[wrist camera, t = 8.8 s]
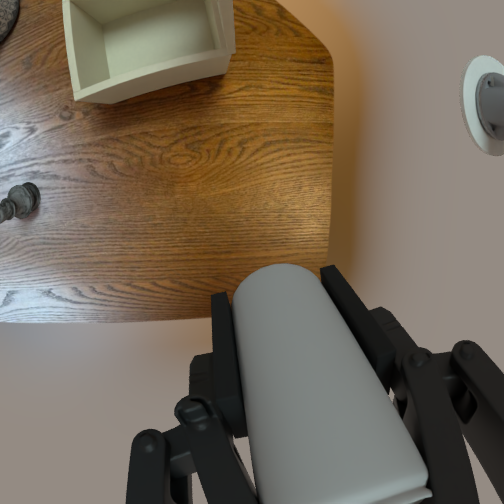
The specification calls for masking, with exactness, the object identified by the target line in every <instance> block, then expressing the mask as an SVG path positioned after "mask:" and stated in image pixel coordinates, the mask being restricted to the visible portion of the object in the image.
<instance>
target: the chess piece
mask: <svg viewBox="0 0 504 504" xmlns="http://www.w3.org/2000/svg"><path fill="white" fill-rule="evenodd" d="M39 203H40V192H39V190H38V188H37V187H36V185H34V184H33V183H31V182H26V183H24V184H23V185H16V186H14V187H12V188H11V189H10V191H9V193H8V196H7V198H5V199H3V200H2V201H1V203H0V223H2V222H4V221H5V220H11V219H12V218H13V217H14V216H15V217H16V218H19V219H23V218H26V217H27V216H28V215H29V214H30V212H31V211H33V210H35V209H36V208H37V207H38V206H39Z"/></svg>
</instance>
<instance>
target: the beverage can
mask: <svg viewBox="0 0 504 504" xmlns="http://www.w3.org/2000/svg"><path fill="white" fill-rule="evenodd" d="M231 308H232V316H233V324H234V332H235V340H236V347H237V355H238V362H239V370H240V377H241V385H242V392H243V400H244V408H245V415H246V423H247V430H248V438H249V445H250V453H251V460H252V467H253V473H254V480H255V487H256V493H257V498H258V501H259V504H419V503H420V502H421V501H422V500H423V499H424V498H428V497H432V496H433V493H432V491H431V490H430V489H427V488H426V485H427V482H428V478H429V472H428V469H427V466H426V465H425V463H424V461H423V459H422V457H421V455H420V453H419V451H418V449H417V447H416V445H415V444H414V442H413V440H412V438H411V436H410V434H409V432H408V430H407V429H406V427H405V425H404V423H403V421H402V419H401V418H400V416H399V414H398V412H397V410H396V409H395V407H394V405H393V403H392V401H391V400H390V398H389V396H388V394H387V392H386V391H385V389H384V387H383V385H382V384H381V382H380V380H379V378H378V377H377V375H376V373H375V371H374V370H373V368H372V366H371V365H370V363H369V361H368V359H367V358H366V356H365V354H364V353H363V351H362V349H361V348H360V346H359V344H358V342H357V341H356V339H355V337H354V336H353V334H352V332H351V331H350V329H349V327H348V326H347V324H346V322H345V321H344V319H343V318H342V316H341V314H340V313H339V311H338V309H337V308H336V306H335V304H334V303H333V301H332V300H331V298H330V296H329V295H328V293H327V292H326V290H325V288H324V287H323V285H322V284H321V282H320V280H319V279H318V278H317V277H316V276H315V275H314V274H313V273H312V272H311V271H309V270H307V269H305V268H303V267H301V266H298V265H293V264H288V263H286V264H273V265H270V266H267V267H263V268H261V269H259V270H257V271H255V272H254V273H252V274H250V275H249V276H248V277H247V278H246V279H245V280H244V281H243V282H241V283H240V285H239V287H238V288H237V290H236V291H235V293H234V296H233V300H232V304H231Z"/></svg>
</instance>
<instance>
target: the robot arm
mask: <svg viewBox="0 0 504 504" xmlns="http://www.w3.org/2000/svg"><path fill="white" fill-rule="evenodd" d="M475 102H476V110H477V114H478V118H479V121H480V123H481V125H482V127H483V129H484V131H485V132H486V133H487V134H488V135H489V136H490V137H491V138H493V139H497V140H501V141H504V75H502V74H499V73H495V72H488V73H485V74H483V75H482V76H481V77H480V79H479V81H478V83H477V87H476V93H475ZM320 274H321V283H322V285H323V287H324V288H325V290H326V292H327V293H328V295H329V296H330V298H331V300H332V301H333V303H334V304H335V306H336V308H337V309H338V311H339V313H340V314H341V316H342V318H343V319H344V321H345V322H346V324H347V326H348V327H349V329H350V331H351V332H352V334H353V336H354V337H355V339H356V341H357V342H358V344H359V346H360V348H361V349H362V351H363V353H364V354H365V356H366V358H367V359H368V361H369V363H370V365H371V366H372V368H373V370H374V371H375V373H376V375H377V377H378V378H379V380H380V382H381V384H382V385H383V387H384V389H385V391H386V392H387V394H388V395H389V391H390V387H391V389H392V391H393V392H394V394H395V395H394V399H393V405H394V407H395V409H396V410H397V412H398V414H399V416H400V418H401V419H402V421H403V423H404V425H405V427H406V429H407V430H408V432H409V434H410V436H411V438H412V440H413V442H414V444H415V445H416V447H417V449H418V451H419V453H420V455H421V457H422V459H423V461H424V463H425V465H426V466H427V469H428V472H429V478H428V482H427V485H426V488H427V489H430V490H431V491H432V493H433V496H432V497H428V498H424V499H423V500H422V501H421V502H420V503H419V504H480V503H479V498H478V493H477V488H476V484H475V479H474V475H473V471H472V467H471V463H470V459H469V456H468V452H467V449H466V445H465V442H464V438H463V435H464V437H465V439H466V440H467V442H468V443H469V445H470V447H471V448H472V450H473V452H474V453H475V455H476V457H477V458H478V460H479V462H480V464H481V465H482V467H483V469H484V470H485V472H486V474H487V476H488V477H489V479H490V481H491V483H492V484H493V486H494V488H495V490H496V492H497V494H498V496H499V498H500V499H501V501H502V503H503V504H504V374H503V373H502V371H501V370H500V369H499V368H498V367H497V366H496V364H495V363H494V362H493V361H492V360H491V359H490V358H489V356H488V355H487V354H486V353H485V352H484V351H483V350H482V349H481V347H480V346H479V345H477V344H476V343H475V342H472V341H469V340H463V341H459V342H458V343H456V344H455V345H454V347H453V349H452V351H451V352H444V353H437V354H432V353H431V352H430V351H429V350H427V349H425V348H421V347H418V346H417V345H416V343H415V342H414V341H413V340H412V338H411V337H410V336H409V334H408V333H407V332H406V331H405V329H404V328H403V327H402V326H401V324H400V323H399V322H398V321H397V320H396V318H395V317H394V316H393V314H392V313H391V312H390V311H388V310H386V309H385V308H383V307H378V308H375V309H372V310H368V309H367V308H366V306H365V305H364V304H363V302H362V301H361V300H360V298H359V297H358V296H357V294H356V293H355V292H354V290H353V289H352V288H351V286H350V285H349V284H348V282H347V281H346V280H345V278H344V277H343V276H342V274H341V273H340V272H339V270H338V269H337V268H336V267H335V265H330V266H326V267H323V268H320ZM211 312H212V343H213V352H212V353H206V354H202V355H197V356H194V358H193V360H192V362H191V364H190V376H189V382H190V384H189V395H188V396H186V397H184V398H182V399H181V400H180V401H179V402H178V403H177V405H176V407H175V410H174V412H175V413H174V415H175V416H176V418H177V419H178V421H179V422H180V425H179V426H177V427H175V428H173V429H171V430H168V431H166V432H163V433H161V432H160V431H158V430H155V429H147V430H143V431H141V432H140V433H138V434H137V435H136V436H135V438H134V439H133V442H132V447H131V456H130V463H129V472H128V482H127V493H126V504H193V501H192V500H193V499H192V475H191V474H192V473H195V472H197V473H198V476H199V479H200V482H201V485H202V488H203V491H204V493H205V496H206V499H207V502H208V504H259V501H258V498H257V493H256V489H255V487H254V485H253V483H252V481H251V479H250V477H249V475H248V472H247V470H246V468H245V466H244V464H243V462H242V460H241V458H240V455H239V453H238V451H237V448H236V447H235V445H234V443H233V435H234V437H235V438H242V437H247V436H248V430H247V423H246V415H245V408H244V400H243V392H242V385H241V377H240V370H239V362H238V355H237V347H236V340H235V332H234V324H233V316H232V310H231V307H230V303H229V300H228V297H227V293H226V291H225V292H221V293H217V294H213V295H211ZM462 434H463V435H462Z"/></svg>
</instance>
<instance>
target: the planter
mask: <svg viewBox="0 0 504 504" xmlns="http://www.w3.org/2000/svg"><path fill="white" fill-rule="evenodd" d="M18 9H19V1H18V0H0V42H1V41H2V40H3V39H4V38H5V37H6V35H7V34H8V32H9V31H10V29H11V28H12V26H13V24H14V22H15V20H16V17H17V14H18Z"/></svg>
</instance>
